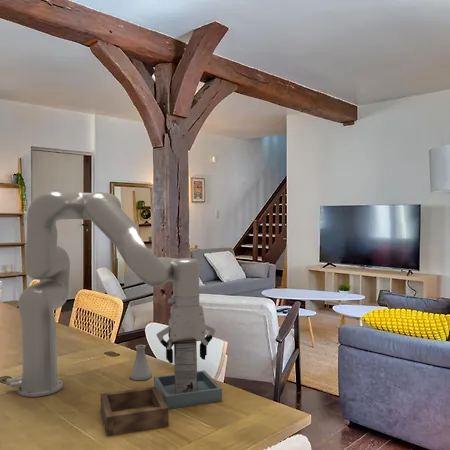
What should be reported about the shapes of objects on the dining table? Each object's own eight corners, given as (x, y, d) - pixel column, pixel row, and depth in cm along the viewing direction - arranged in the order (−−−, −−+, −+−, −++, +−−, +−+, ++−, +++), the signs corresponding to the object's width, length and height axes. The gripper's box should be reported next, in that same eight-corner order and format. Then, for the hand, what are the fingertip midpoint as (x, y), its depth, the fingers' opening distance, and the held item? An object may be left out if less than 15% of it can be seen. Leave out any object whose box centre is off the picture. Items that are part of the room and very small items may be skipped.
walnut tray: (106, 435, 112) (106, 417, 112) (100, 410, 126) (100, 393, 126) (168, 425, 117) (168, 407, 117) (156, 402, 131) (156, 386, 131)
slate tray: (165, 409, 127) (165, 396, 127) (153, 388, 142) (153, 376, 142) (221, 401, 132) (221, 388, 132) (204, 381, 147) (204, 370, 147)
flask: (147, 381, 147) (147, 350, 147) (125, 380, 149) (125, 348, 148) (155, 373, 154) (155, 343, 154) (134, 372, 156) (134, 342, 155)
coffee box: (174, 386, 141) (173, 332, 141) (196, 384, 142) (195, 331, 141) (174, 398, 132) (173, 341, 131) (197, 397, 133) (196, 340, 132)
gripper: (159, 306, 130) (159, 367, 130) (219, 301, 136) (219, 360, 136) (154, 301, 137) (154, 359, 137) (210, 297, 143) (210, 353, 143)
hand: (186, 360), depth 137 cm, fingers open, 9 cm apart
